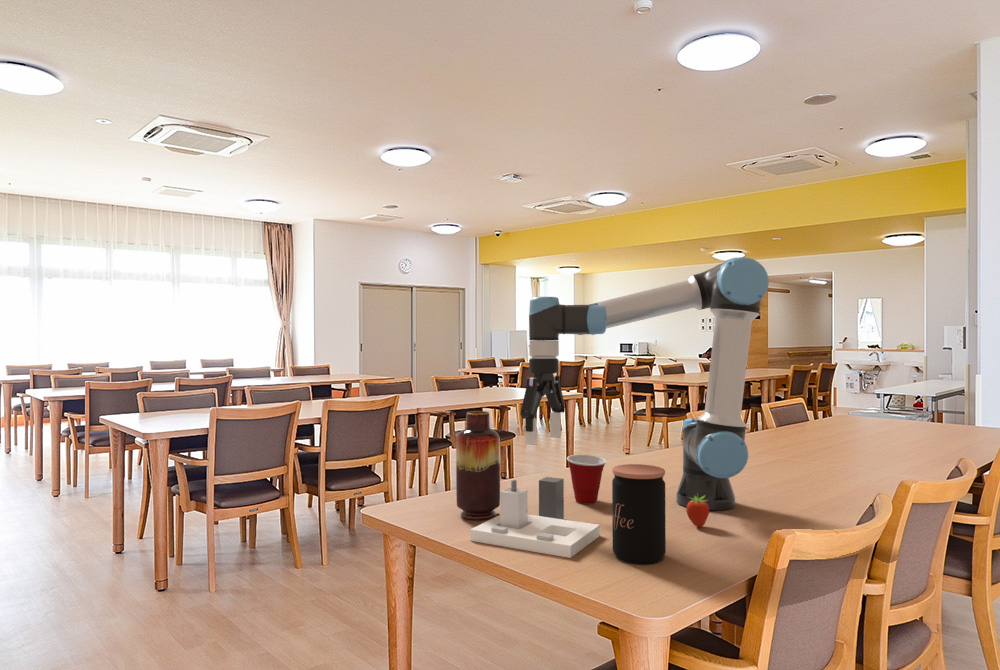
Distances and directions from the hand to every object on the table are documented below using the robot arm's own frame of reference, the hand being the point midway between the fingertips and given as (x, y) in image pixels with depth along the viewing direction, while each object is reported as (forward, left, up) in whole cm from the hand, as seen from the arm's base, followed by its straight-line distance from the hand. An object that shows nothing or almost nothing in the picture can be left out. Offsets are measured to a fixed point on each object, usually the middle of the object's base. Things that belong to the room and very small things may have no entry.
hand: (543, 441), depth 168 cm
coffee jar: (-31, +20, -19) cm, 41 cm away
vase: (+14, +9, -19) cm, 25 cm away
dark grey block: (-4, +4, -19) cm, 19 cm away
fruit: (-37, -7, -19) cm, 42 cm away
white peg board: (-7, +19, -19) cm, 27 cm away
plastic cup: (-5, -17, -19) cm, 26 cm away
